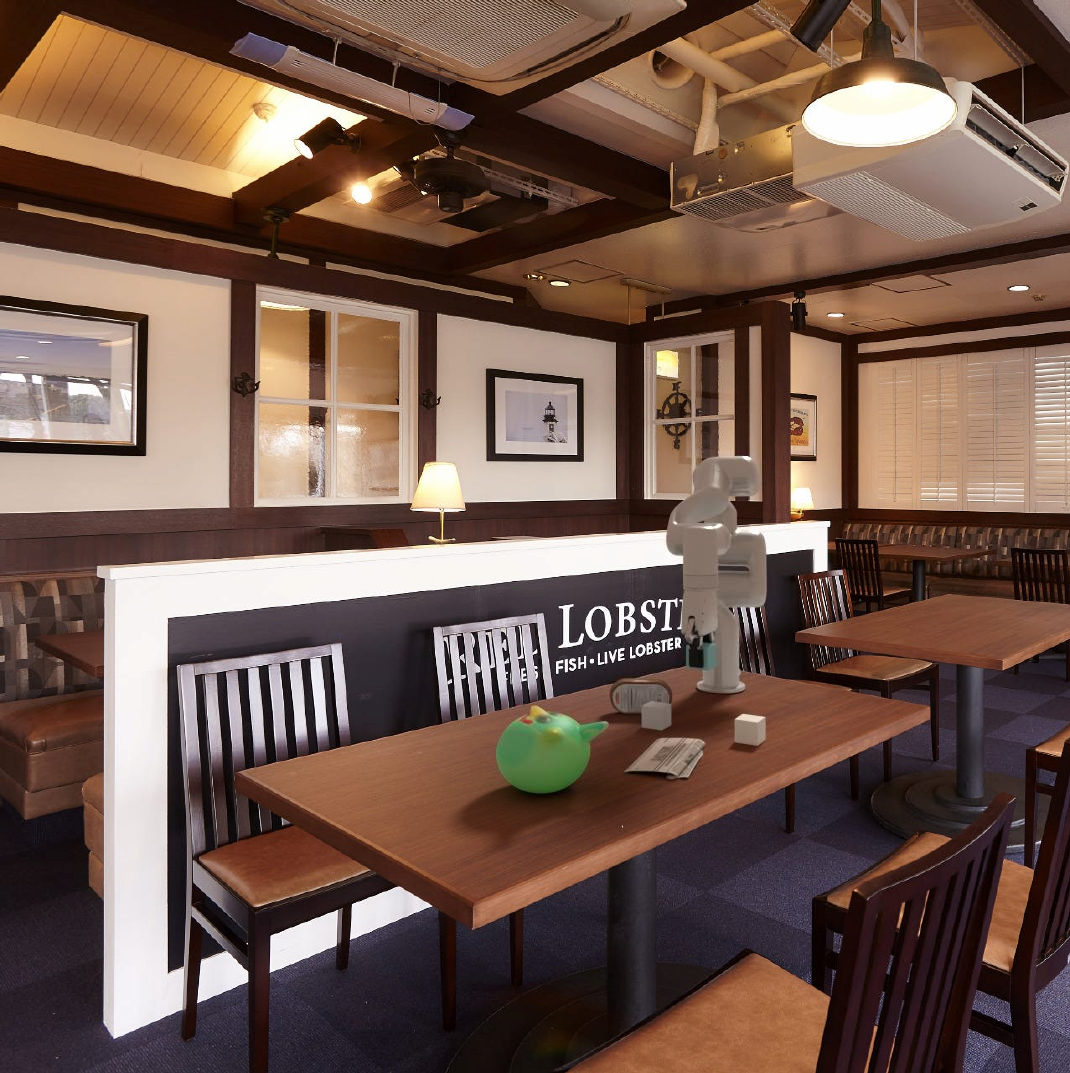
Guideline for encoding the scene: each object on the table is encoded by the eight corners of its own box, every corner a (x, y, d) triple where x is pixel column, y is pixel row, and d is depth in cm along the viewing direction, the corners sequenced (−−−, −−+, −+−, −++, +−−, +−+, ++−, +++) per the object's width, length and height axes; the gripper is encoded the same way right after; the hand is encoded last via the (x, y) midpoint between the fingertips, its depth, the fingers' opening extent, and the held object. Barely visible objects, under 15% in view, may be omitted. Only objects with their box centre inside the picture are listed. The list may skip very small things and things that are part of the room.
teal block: (695, 663, 190) (695, 641, 190) (716, 666, 188) (716, 643, 187) (686, 668, 186) (686, 645, 186) (707, 670, 183) (707, 647, 183)
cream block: (742, 736, 185) (742, 713, 184) (765, 740, 182) (765, 717, 182) (734, 742, 181) (734, 719, 180) (757, 746, 178) (757, 722, 178)
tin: (672, 712, 206) (671, 677, 205) (673, 715, 202) (672, 680, 202) (609, 711, 207) (609, 677, 207) (609, 715, 204) (609, 680, 203)
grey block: (651, 722, 197) (651, 701, 197) (671, 725, 194) (671, 703, 194) (641, 727, 193) (641, 706, 193) (661, 730, 190) (661, 708, 190)
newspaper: (687, 784, 157) (685, 771, 157) (624, 783, 162) (623, 770, 162) (715, 748, 178) (713, 736, 178) (658, 748, 183) (657, 736, 183)
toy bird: (541, 767, 167) (540, 693, 166) (613, 785, 156) (612, 706, 155) (478, 794, 153) (476, 713, 152) (552, 815, 142) (551, 729, 141)
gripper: (700, 577, 195) (700, 655, 196) (668, 586, 181) (669, 670, 182) (731, 578, 190) (732, 659, 192) (701, 588, 176) (702, 674, 178)
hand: (701, 663), depth 187 cm, fingers closed on teal block, 4 cm apart
